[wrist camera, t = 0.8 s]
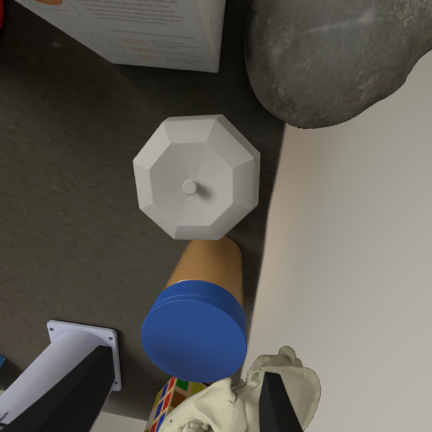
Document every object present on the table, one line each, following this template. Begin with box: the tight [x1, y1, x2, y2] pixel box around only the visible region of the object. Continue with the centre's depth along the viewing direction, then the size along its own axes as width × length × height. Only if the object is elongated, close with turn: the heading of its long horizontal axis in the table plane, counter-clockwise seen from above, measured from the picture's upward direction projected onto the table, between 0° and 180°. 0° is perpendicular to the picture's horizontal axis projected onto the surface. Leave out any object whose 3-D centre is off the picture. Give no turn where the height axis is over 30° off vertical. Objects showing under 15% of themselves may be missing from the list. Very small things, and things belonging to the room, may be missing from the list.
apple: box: [133, 114, 260, 240], centre depth 14 cm, size 8×8×7 cm
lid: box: [141, 280, 247, 383], centre depth 12 cm, size 6×6×2 cm
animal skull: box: [158, 346, 321, 432], centre depth 18 cm, size 15×9×8 cm
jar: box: [164, 235, 244, 311], centre depth 15 cm, size 5×5×8 cm
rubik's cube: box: [144, 377, 208, 432], centre depth 22 cm, size 6×6×6 cm
